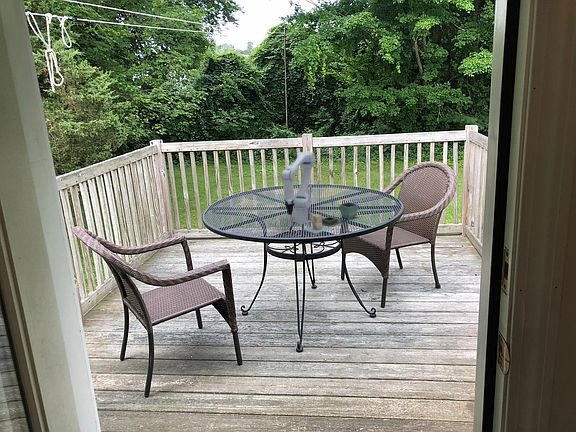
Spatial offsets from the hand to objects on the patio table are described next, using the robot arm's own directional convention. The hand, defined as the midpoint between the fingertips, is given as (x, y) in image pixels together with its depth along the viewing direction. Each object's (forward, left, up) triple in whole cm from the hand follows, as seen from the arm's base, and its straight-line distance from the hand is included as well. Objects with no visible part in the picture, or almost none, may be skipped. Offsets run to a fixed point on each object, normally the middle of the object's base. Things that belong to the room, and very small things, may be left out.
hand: (289, 212), depth 272 cm
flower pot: (+10, +39, -11) cm, 42 cm away
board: (+12, +10, -10) cm, 19 cm away
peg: (+12, +11, -10) cm, 19 cm away
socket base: (+7, +25, -10) cm, 28 cm away
